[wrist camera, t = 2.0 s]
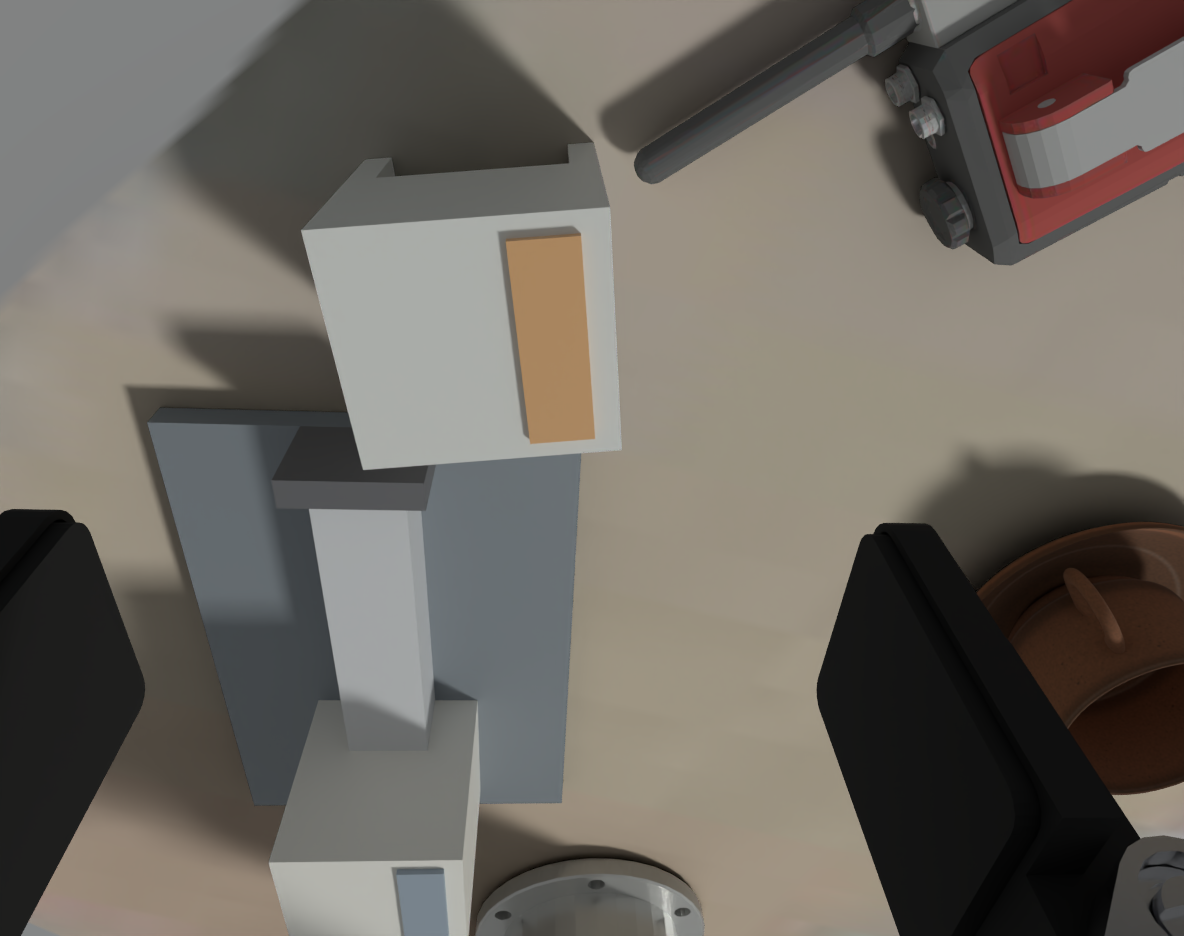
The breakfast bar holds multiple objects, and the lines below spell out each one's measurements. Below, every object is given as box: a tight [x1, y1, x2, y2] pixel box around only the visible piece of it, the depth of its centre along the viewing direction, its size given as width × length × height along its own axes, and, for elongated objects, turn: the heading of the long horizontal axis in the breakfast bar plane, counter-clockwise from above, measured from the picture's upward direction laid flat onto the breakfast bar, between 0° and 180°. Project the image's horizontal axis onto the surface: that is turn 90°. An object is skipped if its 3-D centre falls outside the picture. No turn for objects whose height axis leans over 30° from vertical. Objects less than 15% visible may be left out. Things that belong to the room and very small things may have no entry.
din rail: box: [147, 408, 581, 936], centre depth 29 cm, size 20×14×8 cm
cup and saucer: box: [976, 522, 1184, 795], centre depth 31 cm, size 12×12×6 cm
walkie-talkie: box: [634, 0, 1184, 265], centre depth 21 cm, size 9×4×20 cm
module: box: [301, 142, 622, 470], centre depth 21 cm, size 6×6×7 cm
